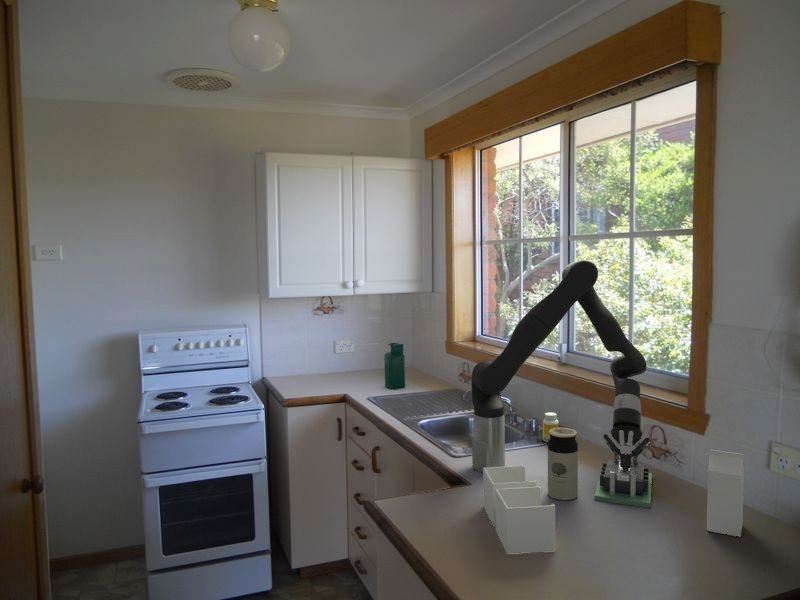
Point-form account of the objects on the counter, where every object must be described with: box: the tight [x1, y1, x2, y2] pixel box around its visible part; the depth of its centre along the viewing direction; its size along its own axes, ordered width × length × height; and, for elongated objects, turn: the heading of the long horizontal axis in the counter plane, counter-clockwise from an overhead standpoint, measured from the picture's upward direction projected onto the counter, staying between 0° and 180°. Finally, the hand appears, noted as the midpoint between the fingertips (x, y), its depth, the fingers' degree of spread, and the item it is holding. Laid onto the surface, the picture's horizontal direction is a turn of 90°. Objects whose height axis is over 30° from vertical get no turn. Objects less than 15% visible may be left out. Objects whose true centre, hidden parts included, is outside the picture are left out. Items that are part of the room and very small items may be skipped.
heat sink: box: [599, 453, 650, 498], centre depth 171 cm, size 17×12×7 cm
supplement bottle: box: [542, 412, 560, 443], centre depth 213 cm, size 5×5×10 cm
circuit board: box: [593, 468, 653, 508], centre depth 171 cm, size 22×14×1 cm, turn 157°
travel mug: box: [547, 427, 579, 501], centre depth 167 cm, size 8×8×18 cm
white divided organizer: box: [482, 465, 556, 554], centre depth 149 cm, size 25×11×11 cm, turn 4°
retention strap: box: [617, 457, 633, 481], centre depth 171 cm, size 16×3×1 cm, turn 157°
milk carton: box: [706, 449, 745, 538], centre depth 146 cm, size 7×7×19 cm
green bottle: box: [383, 342, 406, 390], centre depth 296 cm, size 10×8×22 cm
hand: (625, 468), depth 168 cm, fingers closed
